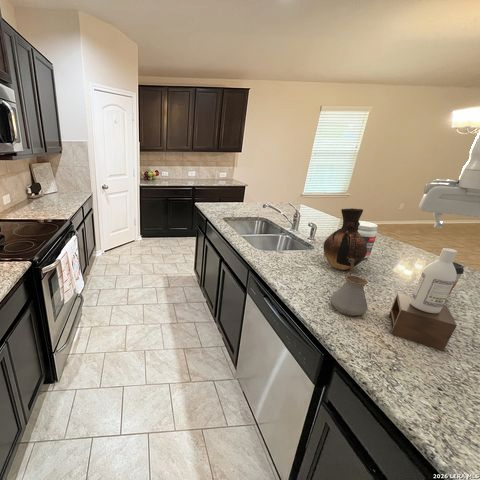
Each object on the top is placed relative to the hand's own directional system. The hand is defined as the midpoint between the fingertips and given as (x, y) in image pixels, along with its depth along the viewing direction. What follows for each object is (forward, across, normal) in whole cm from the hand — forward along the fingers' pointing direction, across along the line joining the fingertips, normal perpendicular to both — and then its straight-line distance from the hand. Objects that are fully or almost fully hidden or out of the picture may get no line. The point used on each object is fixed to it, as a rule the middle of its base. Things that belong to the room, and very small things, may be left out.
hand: (461, 230), depth 71 cm
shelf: (+35, -1, -1) cm, 35 cm away
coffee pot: (+35, -20, +5) cm, 41 cm away
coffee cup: (+36, +9, +32) cm, 49 cm away
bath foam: (+26, -1, -1) cm, 26 cm away
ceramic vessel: (+35, -24, +41) cm, 59 cm away
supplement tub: (+35, -18, +63) cm, 74 cm away
